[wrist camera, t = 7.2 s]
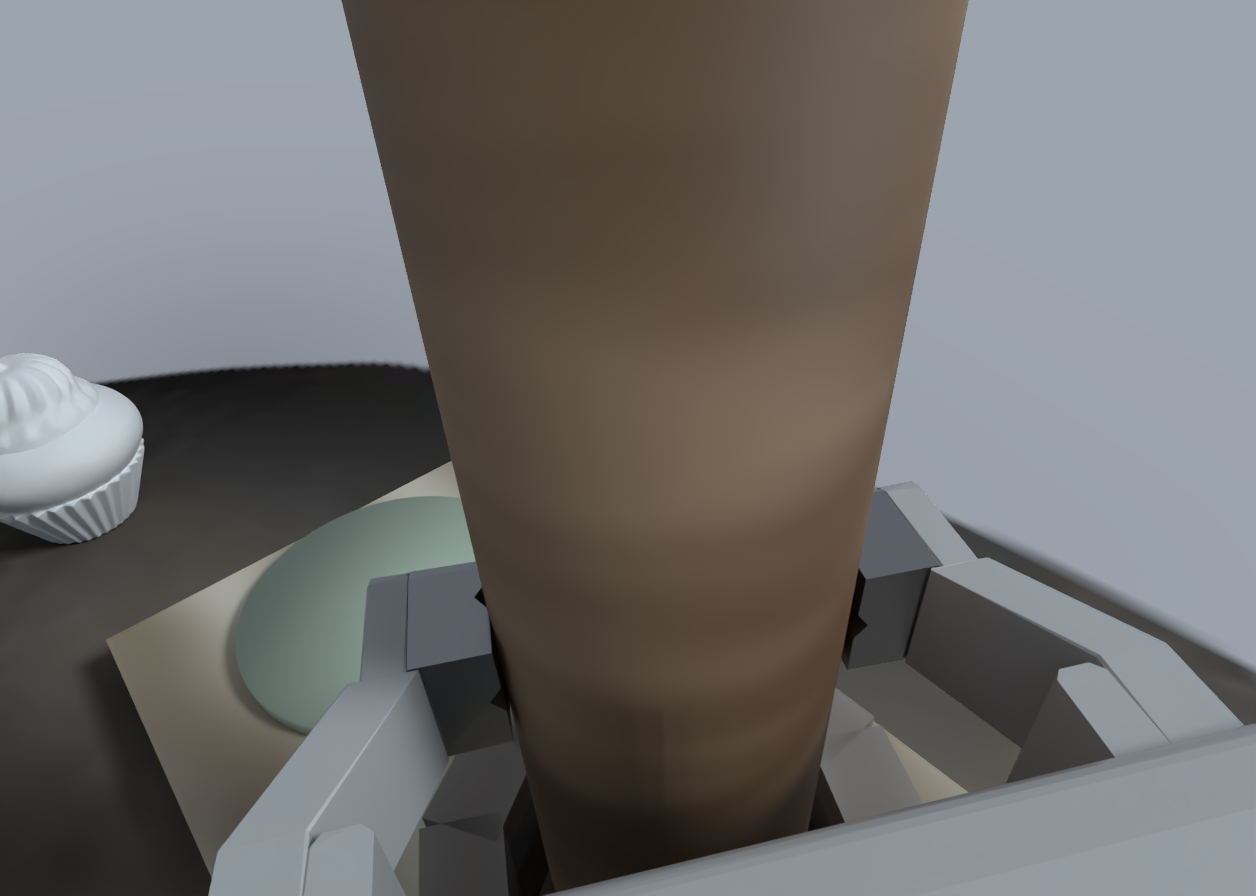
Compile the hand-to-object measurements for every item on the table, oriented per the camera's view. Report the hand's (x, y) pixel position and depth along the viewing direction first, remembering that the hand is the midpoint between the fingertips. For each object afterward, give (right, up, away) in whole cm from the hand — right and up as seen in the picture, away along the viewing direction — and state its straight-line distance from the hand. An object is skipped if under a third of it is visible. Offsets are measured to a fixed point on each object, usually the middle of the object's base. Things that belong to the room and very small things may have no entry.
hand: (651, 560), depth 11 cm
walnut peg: (+1, -8, +5) cm, 10 cm away
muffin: (-21, -1, +19) cm, 29 cm away
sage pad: (-7, -3, +13) cm, 15 cm away
